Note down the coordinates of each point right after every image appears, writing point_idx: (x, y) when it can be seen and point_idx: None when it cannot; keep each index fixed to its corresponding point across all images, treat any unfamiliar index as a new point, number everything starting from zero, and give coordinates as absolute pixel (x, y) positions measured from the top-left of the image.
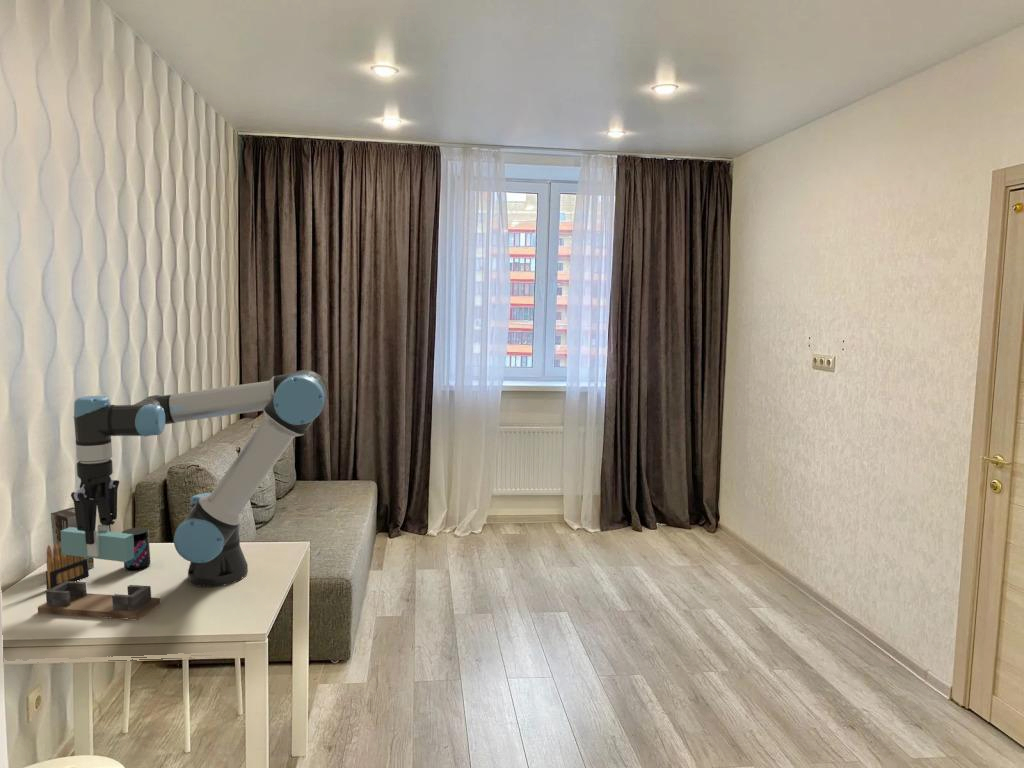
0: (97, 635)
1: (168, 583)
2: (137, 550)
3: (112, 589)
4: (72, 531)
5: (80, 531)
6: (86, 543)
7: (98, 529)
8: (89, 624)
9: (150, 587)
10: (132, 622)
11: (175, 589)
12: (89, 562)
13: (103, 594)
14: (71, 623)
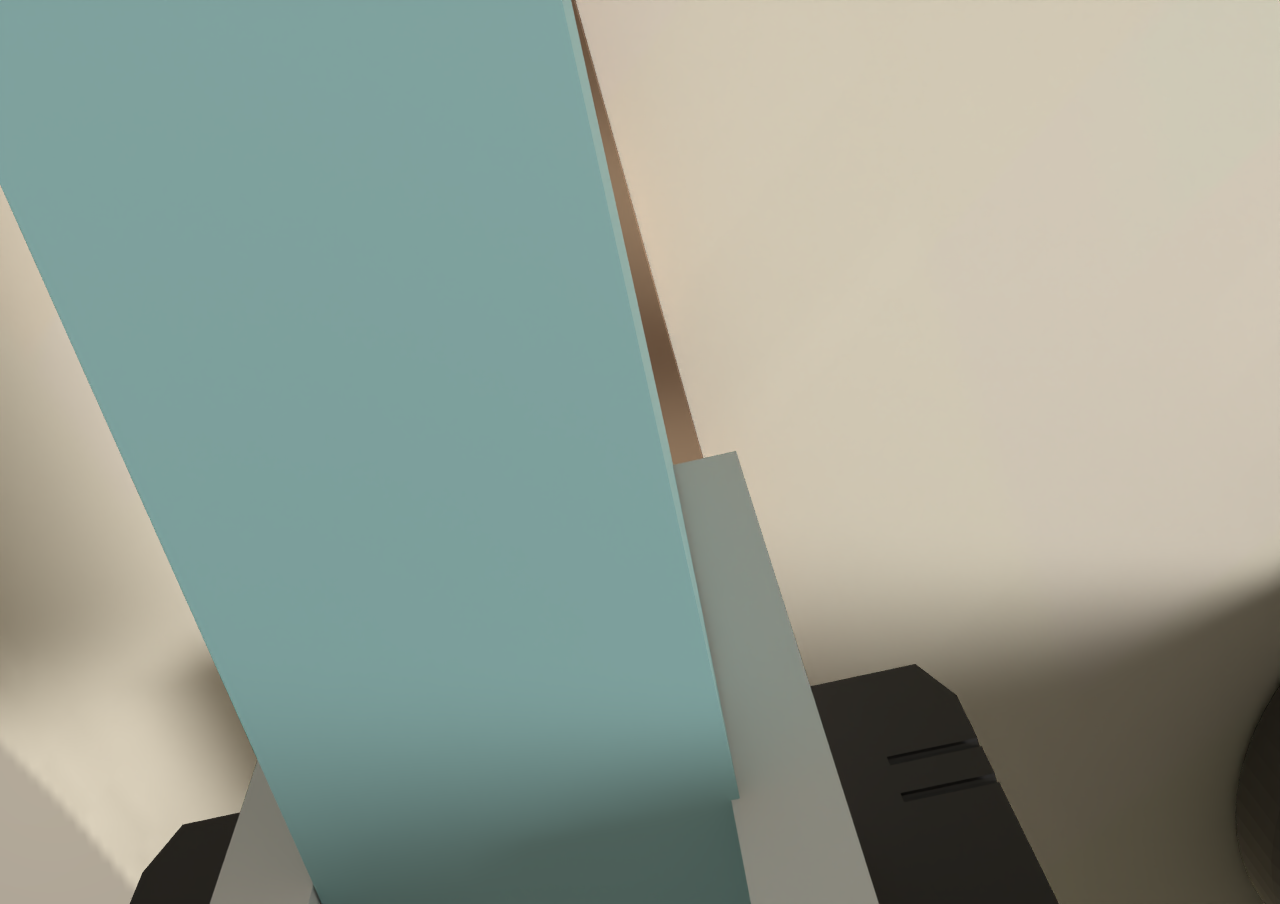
0: (88, 827)
1: (1247, 469)
2: None
3: (917, 2)
4: (85, 162)
5: (304, 445)
6: (174, 853)
7: (743, 847)
8: (170, 596)
9: None
10: None
11: (1122, 649)
12: None
13: (633, 229)
14: (76, 423)
